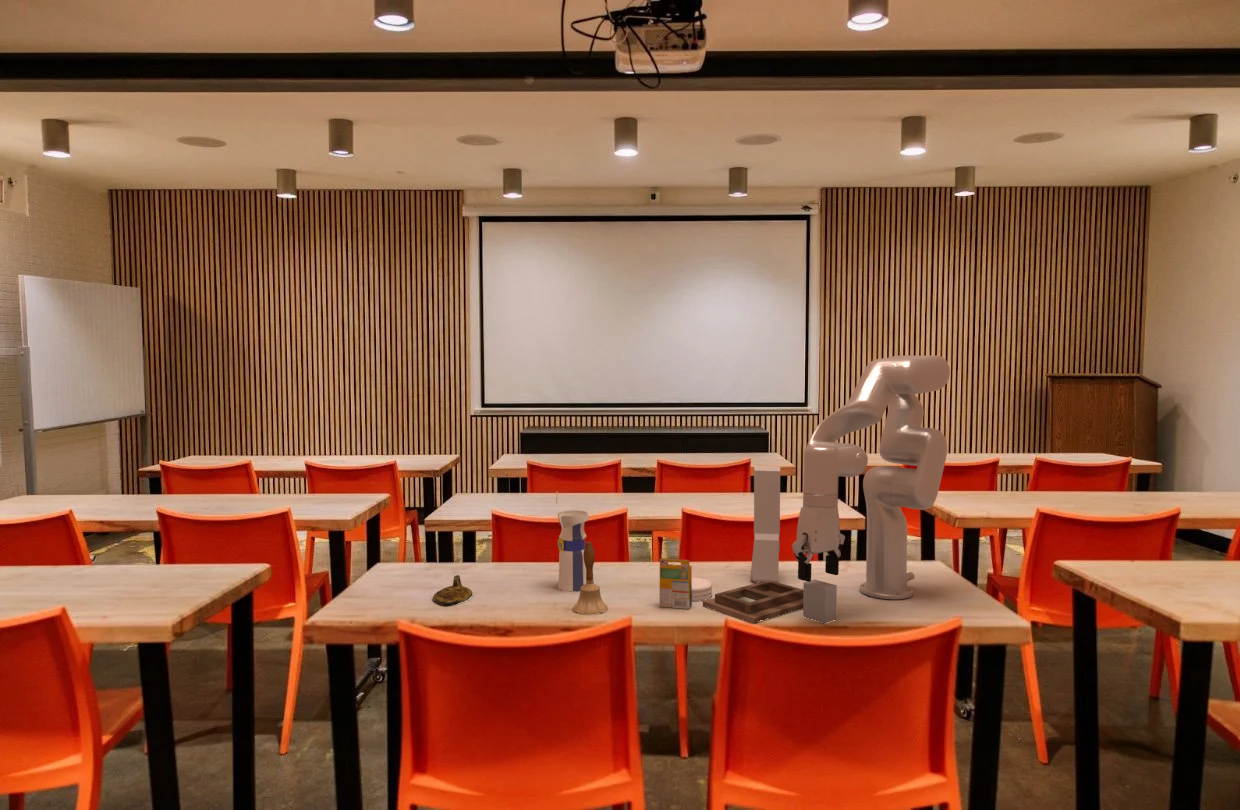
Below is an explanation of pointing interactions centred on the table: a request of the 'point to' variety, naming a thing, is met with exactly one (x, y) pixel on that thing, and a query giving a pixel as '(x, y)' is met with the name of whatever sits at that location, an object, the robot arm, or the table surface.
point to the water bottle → (572, 550)
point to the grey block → (819, 601)
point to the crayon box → (675, 584)
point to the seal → (453, 593)
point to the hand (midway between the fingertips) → (818, 577)
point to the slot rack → (757, 601)
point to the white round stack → (701, 589)
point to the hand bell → (589, 588)
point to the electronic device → (766, 524)
